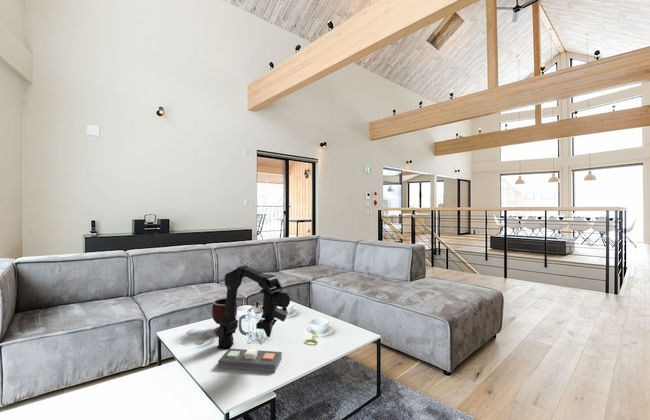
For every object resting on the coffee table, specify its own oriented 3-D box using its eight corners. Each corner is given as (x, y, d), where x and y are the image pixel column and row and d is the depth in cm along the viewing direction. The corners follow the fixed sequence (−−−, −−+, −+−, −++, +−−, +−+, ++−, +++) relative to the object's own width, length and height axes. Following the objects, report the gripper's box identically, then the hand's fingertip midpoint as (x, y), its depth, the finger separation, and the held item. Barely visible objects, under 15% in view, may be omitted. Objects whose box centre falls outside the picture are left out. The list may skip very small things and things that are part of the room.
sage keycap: (226, 360, 142) (226, 355, 142) (230, 355, 146) (230, 350, 146) (236, 361, 141) (236, 356, 141) (240, 356, 146) (240, 351, 146)
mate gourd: (227, 336, 171) (228, 301, 171) (206, 333, 175) (207, 298, 175) (242, 326, 186) (243, 293, 186) (222, 323, 190) (223, 291, 190)
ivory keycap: (244, 359, 141) (244, 353, 141) (248, 354, 145) (248, 349, 145) (254, 360, 140) (254, 354, 140) (257, 355, 145) (257, 349, 145)
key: (318, 336, 175) (318, 332, 175) (317, 346, 163) (318, 342, 163) (305, 336, 175) (305, 332, 175) (304, 346, 163) (304, 342, 163)
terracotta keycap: (262, 363, 140) (262, 357, 140) (265, 358, 145) (265, 353, 144) (272, 364, 139) (272, 358, 139) (275, 359, 144) (275, 353, 144)
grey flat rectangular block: (218, 368, 138) (218, 360, 138) (229, 355, 150) (229, 348, 150) (274, 372, 136) (275, 364, 136) (281, 359, 148) (281, 352, 147)
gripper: (281, 311, 132) (280, 347, 132) (290, 298, 150) (290, 329, 151) (256, 309, 133) (255, 345, 133) (268, 297, 152) (268, 328, 152)
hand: (268, 336), depth 142 cm, fingers closed
